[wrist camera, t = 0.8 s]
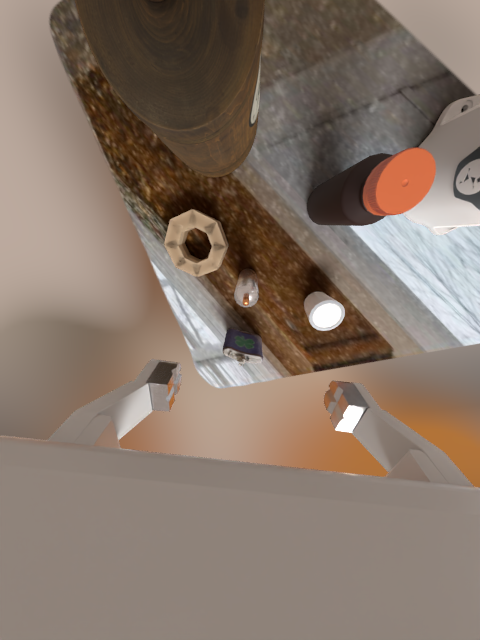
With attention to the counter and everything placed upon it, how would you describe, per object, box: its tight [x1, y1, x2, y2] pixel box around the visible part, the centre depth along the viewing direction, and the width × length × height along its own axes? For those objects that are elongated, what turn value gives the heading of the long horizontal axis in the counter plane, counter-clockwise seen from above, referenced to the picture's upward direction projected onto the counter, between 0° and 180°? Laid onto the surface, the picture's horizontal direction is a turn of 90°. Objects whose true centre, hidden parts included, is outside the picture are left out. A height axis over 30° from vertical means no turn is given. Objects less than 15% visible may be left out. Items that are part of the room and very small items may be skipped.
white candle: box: [234, 268, 259, 307], centre depth 35 cm, size 4×4×15 cm
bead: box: [164, 209, 229, 277], centre depth 37 cm, size 11×11×4 cm
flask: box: [223, 328, 263, 366], centre depth 44 cm, size 9×3×11 cm, turn 74°
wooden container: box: [75, 0, 265, 177], centre depth 20 cm, size 15×15×22 cm
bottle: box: [308, 147, 436, 226], centre depth 25 cm, size 7×7×20 cm
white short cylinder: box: [304, 292, 345, 331], centre depth 40 cm, size 7×7×7 cm
